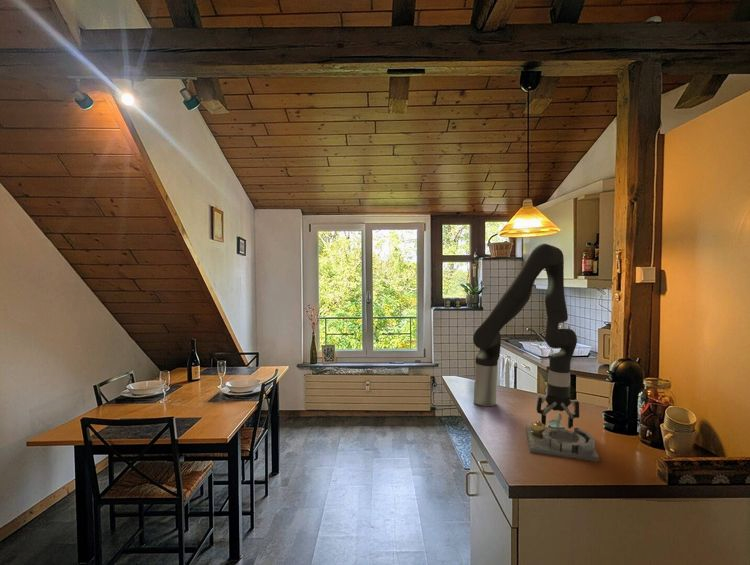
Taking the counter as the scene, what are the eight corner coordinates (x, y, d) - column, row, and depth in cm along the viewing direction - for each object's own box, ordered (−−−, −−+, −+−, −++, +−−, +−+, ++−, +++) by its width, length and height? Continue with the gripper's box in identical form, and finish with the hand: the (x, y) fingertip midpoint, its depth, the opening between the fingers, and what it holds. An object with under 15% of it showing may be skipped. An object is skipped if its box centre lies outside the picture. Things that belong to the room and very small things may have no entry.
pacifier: (549, 433, 148) (567, 433, 148) (550, 416, 148) (567, 416, 147) (543, 425, 156) (559, 425, 155) (543, 409, 155) (559, 409, 155)
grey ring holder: (530, 452, 132) (530, 435, 132) (525, 430, 150) (526, 415, 150) (599, 462, 127) (600, 445, 126) (586, 438, 144) (587, 422, 144)
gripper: (539, 383, 149) (537, 427, 150) (582, 388, 145) (580, 432, 146) (537, 378, 156) (535, 419, 157) (578, 382, 152) (575, 424, 153)
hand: (556, 426), depth 152 cm, fingers open, 8 cm apart
